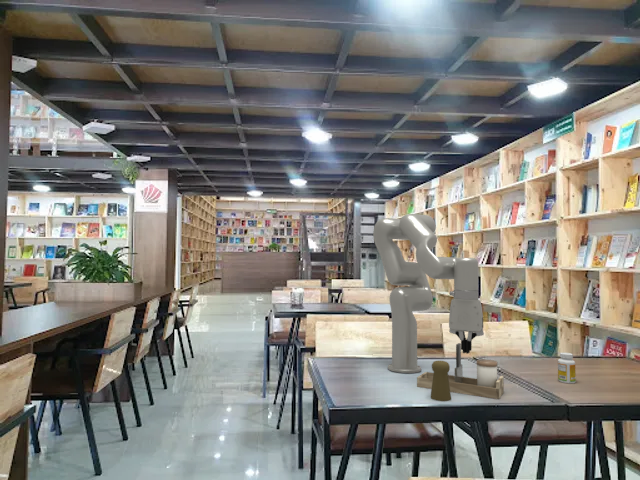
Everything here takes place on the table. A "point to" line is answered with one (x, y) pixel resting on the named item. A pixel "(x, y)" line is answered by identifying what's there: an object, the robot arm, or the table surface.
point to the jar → (486, 373)
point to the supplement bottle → (566, 368)
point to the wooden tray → (465, 386)
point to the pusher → (458, 365)
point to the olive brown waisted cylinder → (440, 381)
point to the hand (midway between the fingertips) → (466, 352)
